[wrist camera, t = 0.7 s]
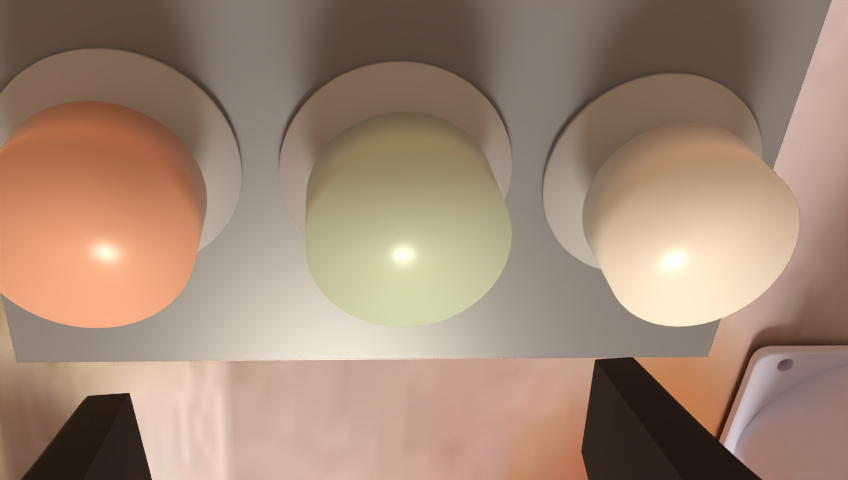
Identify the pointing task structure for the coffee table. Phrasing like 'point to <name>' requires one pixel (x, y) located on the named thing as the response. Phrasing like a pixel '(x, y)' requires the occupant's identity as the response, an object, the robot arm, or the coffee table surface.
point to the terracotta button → (97, 215)
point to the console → (385, 93)
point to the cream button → (689, 224)
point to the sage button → (405, 221)
